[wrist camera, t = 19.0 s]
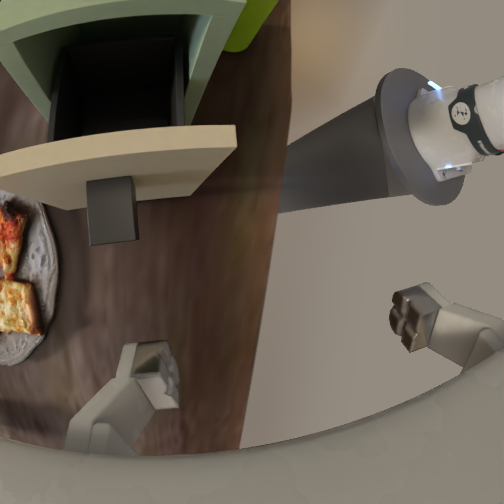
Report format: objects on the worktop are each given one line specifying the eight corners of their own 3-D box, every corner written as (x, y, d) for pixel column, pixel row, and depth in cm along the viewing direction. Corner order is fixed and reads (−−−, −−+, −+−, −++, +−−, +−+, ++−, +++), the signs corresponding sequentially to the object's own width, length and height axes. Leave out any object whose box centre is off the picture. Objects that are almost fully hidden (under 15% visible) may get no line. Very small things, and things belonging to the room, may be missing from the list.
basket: (193, 233, 31) (245, 229, 14) (69, 248, 27) (-19, 262, 10) (184, 86, 30) (222, -25, 13) (70, 98, 25) (24, -3, 8)
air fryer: (188, 129, 32) (250, -4, 11) (66, 143, 27) (-21, 32, 6) (186, 40, 31) (234, -92, 9) (77, 50, 26) (50, -78, 5)
